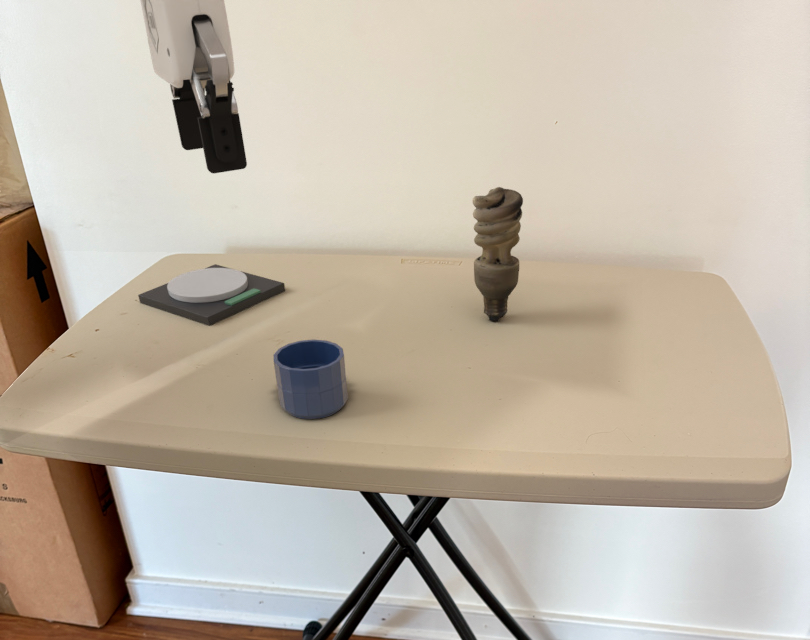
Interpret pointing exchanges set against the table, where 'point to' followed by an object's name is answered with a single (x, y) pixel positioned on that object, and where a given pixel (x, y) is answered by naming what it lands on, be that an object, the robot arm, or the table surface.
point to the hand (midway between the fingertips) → (213, 158)
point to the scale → (211, 294)
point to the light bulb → (497, 248)
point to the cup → (311, 378)
